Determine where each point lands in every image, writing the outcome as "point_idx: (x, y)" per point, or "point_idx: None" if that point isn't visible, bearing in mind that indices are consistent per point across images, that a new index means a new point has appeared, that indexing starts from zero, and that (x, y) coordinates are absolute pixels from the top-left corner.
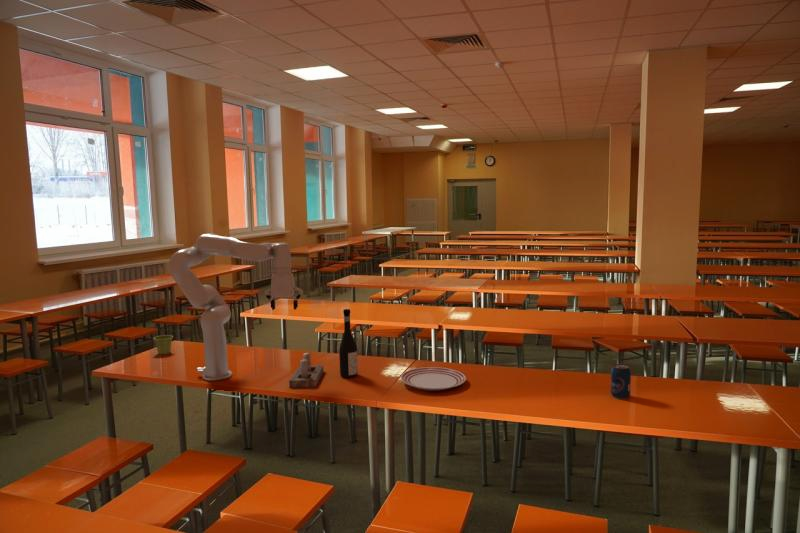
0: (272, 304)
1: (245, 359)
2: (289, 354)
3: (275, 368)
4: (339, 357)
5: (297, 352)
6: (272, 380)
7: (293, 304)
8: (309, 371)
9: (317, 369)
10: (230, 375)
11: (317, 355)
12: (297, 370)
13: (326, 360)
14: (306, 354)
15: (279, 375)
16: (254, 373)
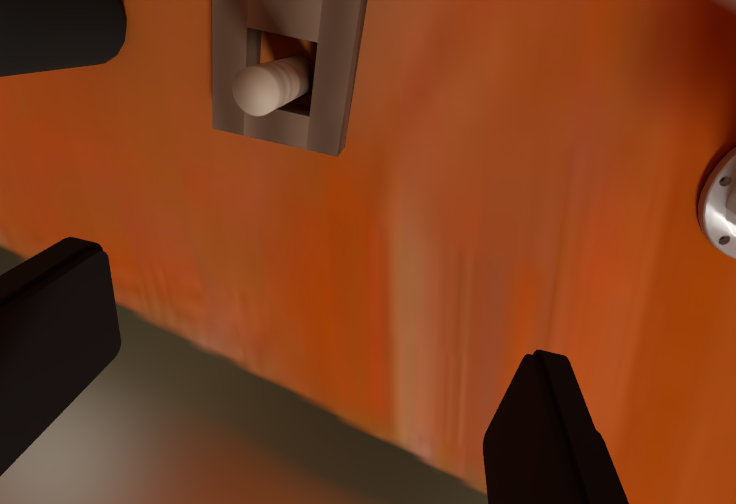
0: (586, 459)
1: (586, 396)
2: (397, 399)
3: (462, 237)
4: (44, 2)
5: (365, 411)
6: (489, 31)
7: (10, 311)
8: (272, 21)
9: (231, 52)
10: (716, 168)
11: (283, 354)
12: (343, 63)
13: (238, 282)
14: (254, 73)
15: (446, 117)
16: (574, 188)
